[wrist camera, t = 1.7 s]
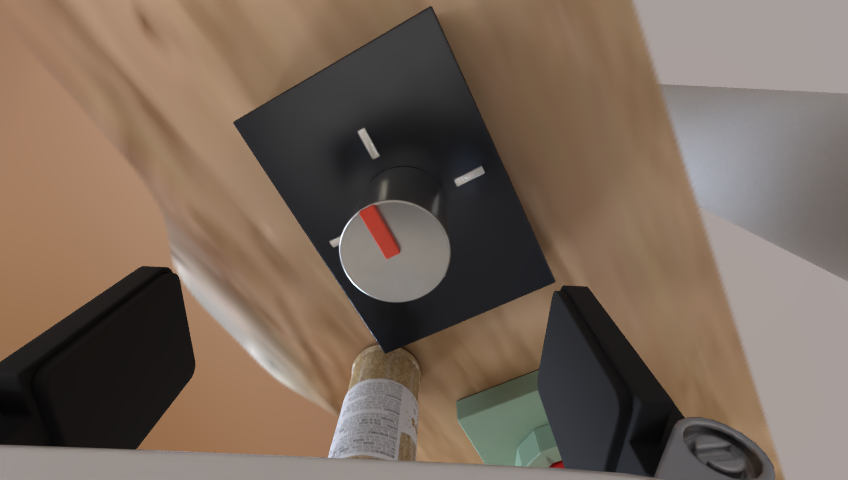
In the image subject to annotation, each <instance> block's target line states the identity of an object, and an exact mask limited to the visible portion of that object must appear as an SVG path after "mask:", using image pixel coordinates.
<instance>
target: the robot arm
mask: <svg viewBox="0 0 848 480" xmlns="http://www.w3.org/2000/svg"><path fill="white" fill-rule="evenodd" d="M194 370H195V358H194V353H193V348H192V343H191V337H190V332H189V327H188V321H187V316H186V311H185V306H184V300H183V295H182V290H181V284H180V280H179V277H178V275H177V274H175V273H173V272H172V271H171V269H169V268H167V267H148V266H142V267H140V268H138V269H137V270H135V271H134V272H132V273H131V274H129V275H128V276H126V277H125V278H124V279H122V280H121V281H119V282H118V283H116V284H114V285H113V286H112V287H110V288H109V289H107V290H106V291H104V292H103V293H101V294H100V295H98V296H97V297H95V298H94V299H92V300H91V301H90V302H88V303H86V304H85V305H83V306H82V307H81V308H79V309H78V310H76V311H75V312H73V313H72V314H70V315H69V316H67V317H66V318H64V319H63V320H61V321H60V322H58V323H57V324H55V325H54V326H53V327H51V328H50V329H48V330H47V331H45V332H44V333H42V334H41V335H39V336H38V337H36V338H35V339H33V340H32V341H30V342H29V343H27V344H26V345H24V346H23V347H21V348H20V349H19V350H17V351H16V352H14V353H13V354H11V355H10V356H8V357H7V358H5V359H4V360H2V361H1V362H0V480H775V472H774V467H773V464H772V463H771V461H770V460H769V458H768V456H767V455H766V453H765V452H764V451H763V450H762V449H761V448H760V447H759V446H758V445H757V444H756V443H755V442H753V441H752V440H750V439H749V438H748V437H746V436H745V435H744V434H742V433H741V432H739V431H737V430H735V429H733V428H731V427H729V426H728V425H725V424H722V423H720V422H717V421H714V420H711V419H706V418H701V417H687V418H684V416H683V415H682V414H681V412H680V411H679V409H678V408H677V407H676V405H675V404H674V402H673V401H672V399H671V398H670V397H669V395H668V394H667V393H666V391H665V390H664V389H663V387H662V386H661V385H660V383H659V382H658V381H657V379H656V378H655V377H654V375H653V374H652V373H651V371H650V370H649V369H648V367H647V366H646V364H645V363H644V362H643V360H642V359H641V358H640V356H639V355H638V354H637V352H636V351H635V350H634V348H633V347H632V346H631V344H630V343H629V342H628V340H627V339H626V338H625V336H624V335H623V334H622V332H621V331H620V330H619V328H618V327H617V326H616V324H615V323H614V322H613V320H612V319H611V318H610V316H609V315H608V313H607V312H606V311H605V309H604V308H603V307H602V305H601V304H600V303H599V301H598V300H597V299H596V297H595V296H594V295H593V293H592V292H591V291H590V289H589V288H588V287H583V286H563V287H562V288H561V290H560V291H555V292H554V293H553V297H552V302H551V307H550V313H549V318H548V324H547V329H546V335H545V340H544V345H543V351H542V356H541V362H540V367H539V373H538V379H537V386H538V392H539V395H540V398H541V401H542V404H543V407H544V410H545V413H546V416H547V418H548V421H549V424H550V427H551V430H552V433H553V436H554V439H555V442H556V444H557V447H558V450H559V453H560V456H561V459H562V462H563V465H564V468H550V467H529V466H508V465H486V464H465V463H444V462H423V461H400V460H376V459H352V458H326V457H303V456H278V455H256V454H254V455H253V454H231V453H230V454H229V453H208V452H184V451H183V452H182V451H159V450H136V449H137V448H138V446H139V445H140V444H141V442H142V441H143V440H144V438H145V437H146V436H147V435H148V433H149V432H150V431H151V429H152V428H153V427H154V426H155V424H156V423H157V422H158V420H159V419H160V418H161V416H162V415H163V414H164V412H165V411H166V410H167V409H168V408H169V406H170V405H171V403H172V402H173V401H174V400H175V398H176V397H177V396H178V395H179V393H180V392H181V391H182V389H183V388H184V387H185V385H186V384H187V383H188V382H189V380H190V379H191V378H192V376H193V374H194Z"/></svg>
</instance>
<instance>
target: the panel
mask: <svg viewBox="0 0 848 480" xmlns="http://www.w3.org/2000/svg"><path fill="white" fill-rule="evenodd" d="M233 123H234V125H235V126H236V128H237V130H238V131H239V133H240V134H241V136H242V137H243V139H244V140H245V142H246V143H247V145H248V146H249V148H250V149H251V151H252V152H253V154H254V155H255V157H256V158H257V160H258V161H259V163H260V165H261V166H262V168H263V169H264V171H265V172H266V174H267V175H268V177H269V178H270V180H271V181H272V183H273V184H274V186H275V187H276V189H277V190H278V192H279V193H280V195H281V196H282V198H283V199H284V201H285V203H286V204H287V206H288V207H289V209H290V210H291V212H292V213H293V215H294V216H295V218H296V219H297V221H298V222H299V224H300V225H301V227H302V228H303V230H304V231H305V233H306V234H307V236H308V237H309V239H310V241H311V242H312V244H313V245H314V247H315V248H316V250H317V251H318V253H319V254H320V256H321V257H322V259H323V260H324V262H325V263H326V265H327V266H328V268H329V269H330V271H331V272H332V274H333V275H334V277H335V279H336V280H337V282H338V283H339V285H340V286H341V288H342V289H343V291H344V292H345V294H346V295H347V297H348V298H349V300H350V301H351V303H352V304H353V306H354V307H355V309H356V310H357V312H358V314H359V315H360V317H361V318H362V320H363V321H364V323H365V324H366V326H367V327H368V329H369V330H370V332H371V333H372V335H373V336H374V338H375V339H376V341H377V342H378V344H379V345H380V347H381V348H382V350H383V352H384V353H385V354H387V353H389V352H391V351H394V350H396V349H398V348H401V347H403V346H405V345H408V344H410V343H413V342H415V341H417V340H420V339H422V338H424V337H427V336H429V335H431V334H434V333H436V332H439V331H441V330H443V329H446V328H448V327H450V326H453V325H455V324H457V323H460V322H462V321H465V320H467V319H469V318H472V317H474V316H476V315H479V314H481V313H484V312H486V311H488V310H491V309H493V308H495V307H498V306H500V305H502V304H505V303H507V302H510V301H512V300H514V299H517V298H519V297H521V296H524V295H526V294H528V293H531V292H533V291H536V290H538V289H540V288H543V287H545V286H547V285H550V284H552V283H554V282H555V279H554V277H553V275H552V273H551V270H550V268H549V266H548V264H547V261H546V259H545V257H544V255H543V252H542V250H541V248H540V246H539V244H538V241H537V239H536V237H535V235H534V232H533V230H532V228H531V226H530V224H529V221H528V219H527V217H526V215H525V212H524V210H523V208H522V206H521V203H520V201H519V199H518V197H517V195H516V192H515V190H514V188H513V186H512V183H511V181H510V179H509V177H508V175H507V172H506V170H505V168H504V166H503V163H502V161H501V159H500V157H499V155H498V152H497V150H496V148H495V146H494V143H493V141H492V139H491V137H490V134H489V132H488V130H487V128H486V126H485V123H484V121H483V119H482V117H481V114H480V112H479V110H478V108H477V106H476V103H475V101H474V99H473V97H472V94H471V92H470V90H469V88H468V86H467V83H466V81H465V79H464V77H463V74H462V72H461V70H460V68H459V65H458V63H457V61H456V59H455V57H454V54H453V52H452V50H451V48H450V45H449V43H448V41H447V39H446V37H445V34H444V32H443V30H442V28H441V25H440V23H439V21H438V19H437V16H436V14H435V12H434V10H433V8H432V6H430V7H428V8H427V9H425V10H423V11H422V12H420V13H418V14H416V15H415V16H413V17H411V18H410V19H408V20H406V21H405V22H403V23H401V24H399V25H398V26H396V27H394V28H393V29H391V30H389V31H387V32H386V33H384V34H382V35H381V36H379V37H377V38H376V39H374V40H372V41H370V42H369V43H367V44H365V45H364V46H362V47H360V48H359V49H357V50H355V51H353V52H352V53H350V54H348V55H347V56H345V57H343V58H341V59H340V60H338V61H336V62H335V63H333V64H331V65H330V66H328V67H326V68H324V69H323V70H321V71H319V72H318V73H316V74H314V75H313V76H311V77H309V78H307V79H306V80H304V81H302V82H301V83H299V84H297V85H296V86H294V87H292V88H290V89H289V90H287V91H285V92H284V93H282V94H280V95H278V96H277V97H275V98H273V99H272V100H270V101H268V102H267V103H265V104H263V105H261V106H260V107H258V108H256V109H255V110H253V111H251V112H250V113H248V114H246V115H244V116H243V117H241V118H239V119H238V120H236V121H234V122H233ZM395 167H412V168H416V169H419V170H421V171H423V172H425V173H427V174H428V175H430V176H431V177H432V178H433V179H434V180H435V181H436V182H437V183H438V184H439V185H440V187H441V189H442V191H443V193H444V196H445V199H446V206H447V216H448V226H449V236H450V246H451V258H450V264H449V267H448V270H447V272H446V274H445V276H444V278H443V279H442V281H441V282H440V283H439V284H438V285H437V286H436V287H435V288H434V289H433V290H432V291H430V292H429V293H428V294H426V295H424V296H422V297H420V298H418V299H415V300H411V301H407V302H386V301H382V300H378V299H375V298H373V297H371V296H369V295H367V294H365V293H364V292H362V291H361V290H360V289H358V288H357V287H356V286H355V285H354V284H353V283H352V282H351V281H350V279H349V278H348V277H347V275H346V273H345V271H344V269H343V267H342V264H341V260H340V255H339V242H340V237H341V234H342V231H343V229H344V227H345V225H346V223H347V222H348V220H349V218H350V216H351V215H352V213H353V211H354V209H355V208H356V206H357V204H358V203H359V201H360V199H361V197H362V196H363V194H364V192H365V190H366V189H367V187H368V185H369V184H370V183H371V181H372V180H373V179H374V178H375V177H376V176H378V175H379V174H380V173H382V172H384V171H386V170H388V169H391V168H395Z"/></svg>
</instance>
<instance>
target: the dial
mask: <svg viewBox="0 0 848 480" xmlns="http://www.w3.org/2000/svg"><path fill="white" fill-rule="evenodd" d="M339 255H340V260H341V264H342V267H343V269H344V271H345V273H346V275H347V277H348V278H349V279H350V281H351V282H352V283H353V284H354V285H355V286H356V287H357V288H358V289H360V290H361V291H362V292H364V293H365V294H367V295H369V296H371V297H373V298H375V299H378V300H382V301H386V302H407V301H411V300H415V299H418V298H420V297H422V296H424V295H426V294H428V293H429V292H430V291H432V290H433V289H434V288H435V287H436V286H437V285H438V284H439V283H440V282H441V281H442V279H443V278H444V276H445V274H446V272H447V270H448V267H449V264H450V258H451V246H450V236H449V226H448V216H447V206H446V199H445V196H444V193H443V191H442V189H441V187H440V185H439V184H438V183H437V182H436V181H435V180H434V179H433V178H432V177H431V176H430V175H428V174H427V173H425V172H423V171H421V170H419V169H416V168H412V167H395V168H391V169H388V170H386V171H384V172H382V173H380V174H379V175H378V176H376V177H375V178H374V179H373V180H372V181H371V183H370V184H369V185H368V187H367V189H366V190H365V192H364V194H363V196H362V197H361V199H360V201H359V203H358V204H357V206H356V208H355V209H354V211H353V213H352V215H351V216H350V218H349V220H348V222H347V223H346V225H345V227H344V229H343V231H342V234H341V237H340V242H339Z"/></svg>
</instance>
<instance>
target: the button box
mask: <svg viewBox="0 0 848 480" xmlns="http://www.w3.org/2000/svg"><path fill="white" fill-rule="evenodd" d="M538 373H539V370H537V371H534V372H532V373H529V374H526V375H524V376H521V377H519V378H516V379H513V380H511V381H508V382H506V383H503V384H500V385H498V386H495V387H493V388H490V389H487V390H485V391H482V392H480V393H477V394H474V395H472V396H469V397H467V398H464V399H461V400H459V401H457V402H456V405H457V419H458V422H459V423H460V425H461V427H462V428H463V430H464V431H465V433H466V435H467V436H468V438H469V439H470V441H471V443H472V444H473V446H474V447H475V449H476V451H477V452H478V454H479V455H480V457H481V459H482V460H483V462H484V463H485V464H486V465H508V466H529V467H549V466H551V465H552V464H553V463H555V462H558V461H561V460H562V459H561V456H560V453H559V450H558V447H557V444H556V442H555V439H554V436H553V433H552V430H551V427H550V424H549V421H548V418H547V416H546V413H545V410H544V407H543V404H542V401H541V398H540V395H539V392H538V386H537V379H538Z"/></svg>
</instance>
